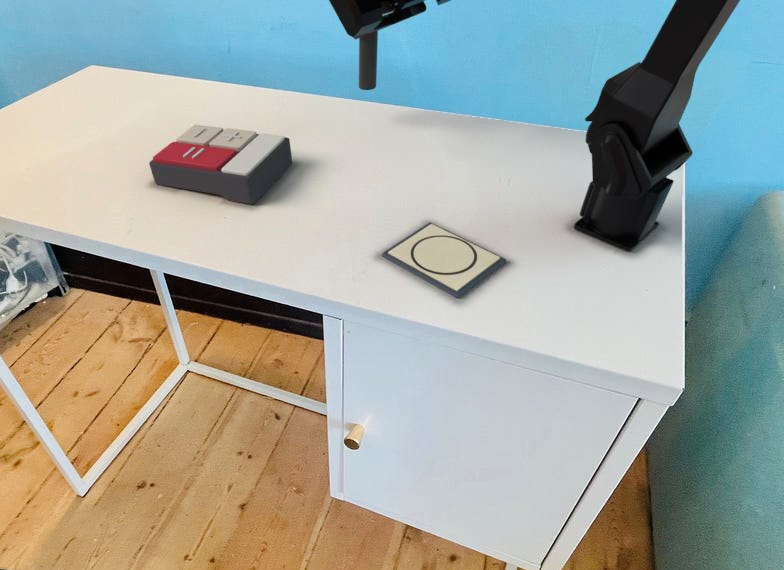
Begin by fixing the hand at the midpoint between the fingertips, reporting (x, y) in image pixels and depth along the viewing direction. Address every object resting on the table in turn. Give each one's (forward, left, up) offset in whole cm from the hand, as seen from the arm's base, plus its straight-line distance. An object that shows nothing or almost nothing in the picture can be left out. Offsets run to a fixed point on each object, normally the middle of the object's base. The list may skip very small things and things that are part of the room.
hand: (361, 33), depth 75 cm
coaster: (-29, +18, -12) cm, 36 cm away
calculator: (+3, +23, -12) cm, 26 cm away
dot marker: (-1, 0, -7) cm, 7 cm away
